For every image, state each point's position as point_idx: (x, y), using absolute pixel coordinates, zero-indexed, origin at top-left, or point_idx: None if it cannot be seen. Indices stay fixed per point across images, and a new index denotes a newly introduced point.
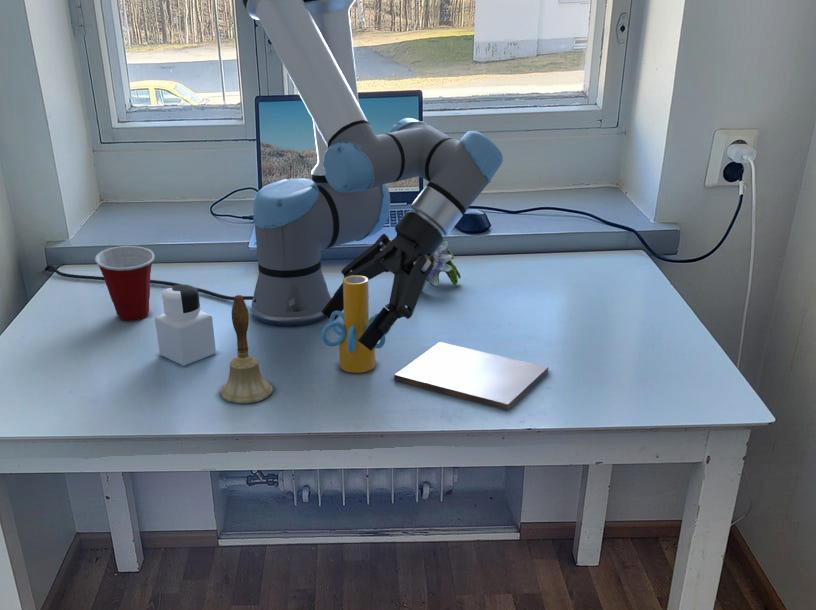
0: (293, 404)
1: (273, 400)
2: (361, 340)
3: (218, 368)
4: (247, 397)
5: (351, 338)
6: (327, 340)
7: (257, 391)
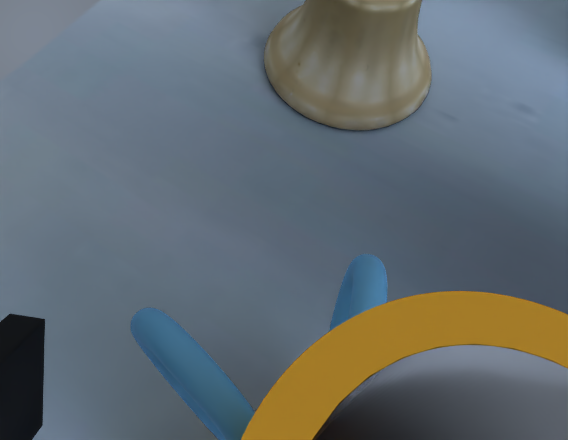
0: (175, 117)
1: (245, 90)
2: (1, 321)
3: (558, 84)
4: (282, 22)
5: (132, 324)
6: (341, 299)
7: (284, 42)
